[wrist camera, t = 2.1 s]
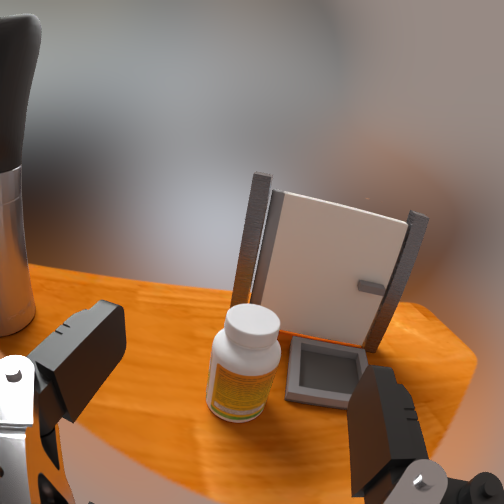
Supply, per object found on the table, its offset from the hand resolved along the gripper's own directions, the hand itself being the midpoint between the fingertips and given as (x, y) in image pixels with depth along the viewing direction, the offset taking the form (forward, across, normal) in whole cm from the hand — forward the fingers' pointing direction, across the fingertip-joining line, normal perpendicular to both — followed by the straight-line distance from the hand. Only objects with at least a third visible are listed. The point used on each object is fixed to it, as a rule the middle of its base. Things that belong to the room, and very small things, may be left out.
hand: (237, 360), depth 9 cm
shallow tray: (+18, -9, +16) cm, 25 cm away
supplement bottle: (+12, 0, +16) cm, 19 cm away
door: (+24, -6, +15) cm, 28 cm away
